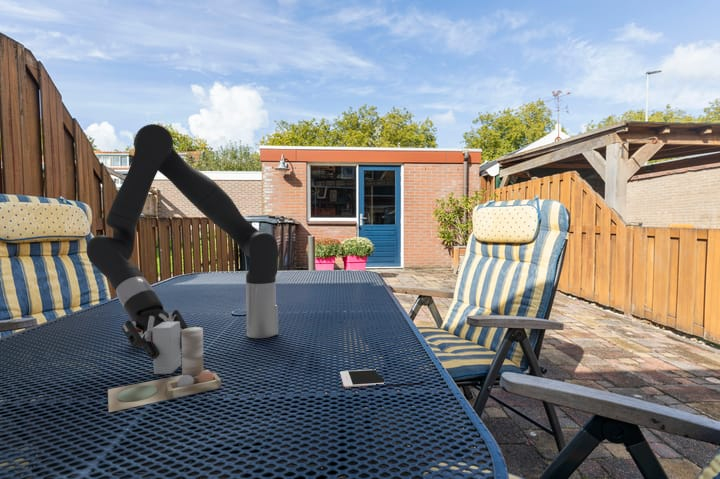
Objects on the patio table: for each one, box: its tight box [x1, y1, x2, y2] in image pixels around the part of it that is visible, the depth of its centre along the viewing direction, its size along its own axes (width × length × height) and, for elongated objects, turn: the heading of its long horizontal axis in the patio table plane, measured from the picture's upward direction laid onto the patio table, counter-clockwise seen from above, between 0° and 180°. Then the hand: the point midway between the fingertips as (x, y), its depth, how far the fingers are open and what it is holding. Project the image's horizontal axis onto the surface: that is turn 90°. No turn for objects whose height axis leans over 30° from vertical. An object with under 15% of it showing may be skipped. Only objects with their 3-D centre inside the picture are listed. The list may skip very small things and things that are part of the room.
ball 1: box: [177, 375, 194, 387], centre depth 81 cm, size 3×3×3 cm
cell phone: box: [339, 368, 385, 389], centre depth 91 cm, size 9×18×1 cm, turn 99°
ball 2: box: [198, 370, 214, 383], centre depth 83 cm, size 3×3×3 cm
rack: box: [107, 326, 222, 413], centre depth 82 cm, size 20×12×12 cm, turn 123°
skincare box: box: [152, 321, 182, 375], centre depth 93 cm, size 6×4×12 cm
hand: (171, 351), depth 92 cm, fingers closed on skincare box, 7 cm apart
